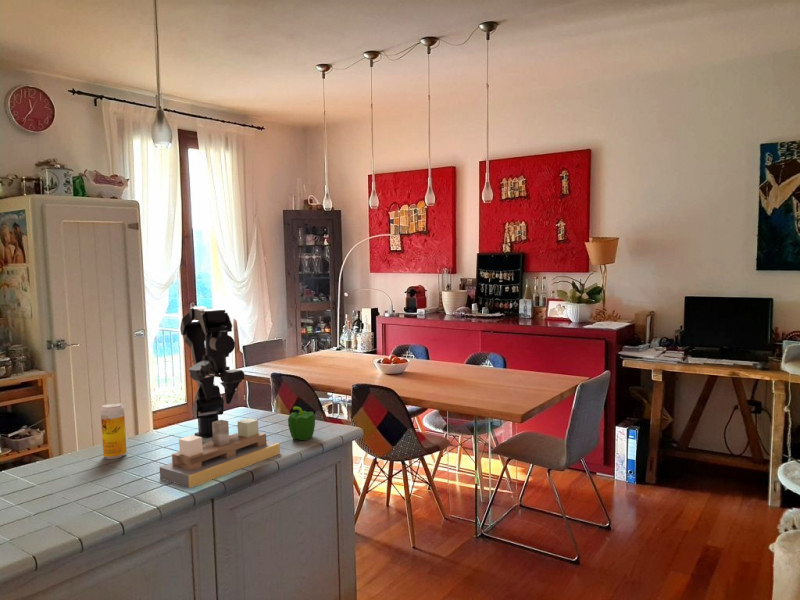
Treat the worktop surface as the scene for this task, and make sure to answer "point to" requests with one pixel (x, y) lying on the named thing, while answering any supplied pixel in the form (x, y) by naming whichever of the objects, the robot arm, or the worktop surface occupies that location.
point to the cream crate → (190, 445)
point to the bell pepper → (301, 424)
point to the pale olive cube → (248, 427)
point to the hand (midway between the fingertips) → (218, 402)
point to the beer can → (113, 430)
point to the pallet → (218, 446)
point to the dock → (219, 465)
